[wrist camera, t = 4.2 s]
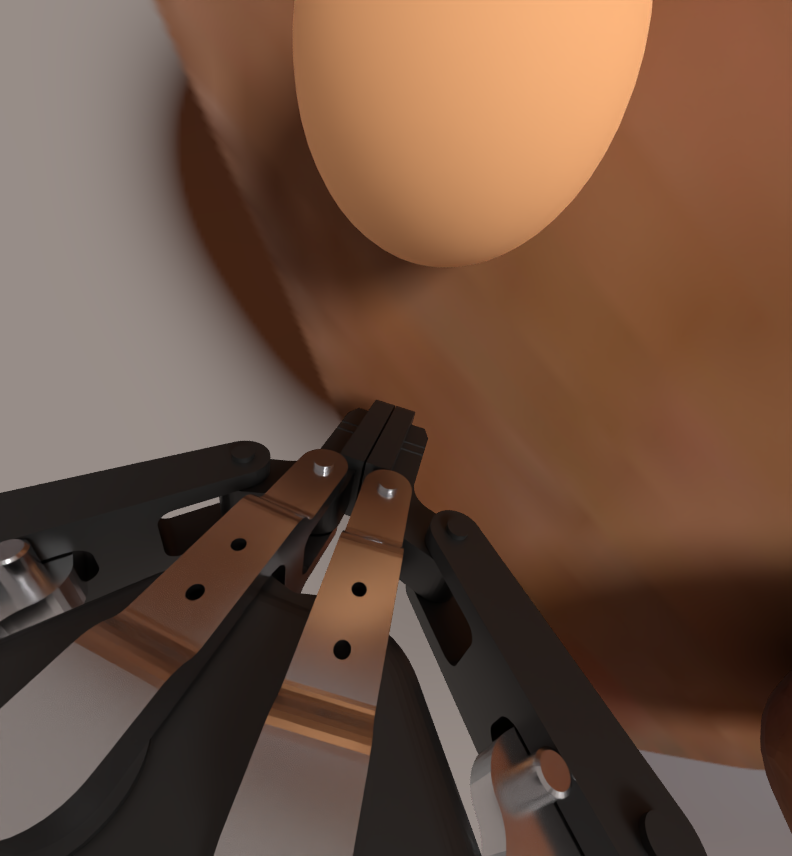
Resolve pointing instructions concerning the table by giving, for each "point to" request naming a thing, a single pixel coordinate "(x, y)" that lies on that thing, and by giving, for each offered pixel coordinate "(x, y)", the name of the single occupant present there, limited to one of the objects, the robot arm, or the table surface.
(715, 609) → the table surface
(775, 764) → the butternut squash
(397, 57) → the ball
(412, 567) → the robot arm
